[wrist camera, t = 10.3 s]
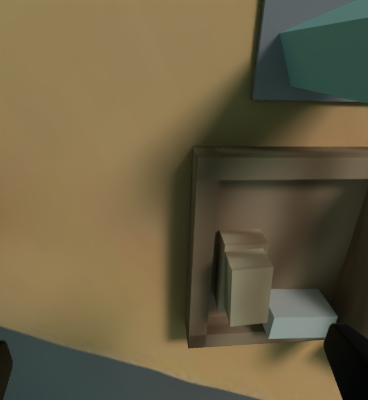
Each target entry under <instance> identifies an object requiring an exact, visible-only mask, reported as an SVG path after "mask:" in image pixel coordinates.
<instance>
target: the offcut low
mask: <svg viewBox="0 0 368 400" xmlns="http://www.w3.org/2000/svg"><path fill="white" fill-rule="evenodd" d="M268 246H269V244H268V242H267V240H266V239H265V237H264V235H263V234H262V232H261V231H260V229H233V230H219V238H218V249H217V259H216V270H215V281H214V292H213V294H214V298H215V302H216V306H217V310H218V312H226V311H225V307H224V277H225V252H227V251H239V250H250V249H261V248H263V249H264V251H265V253H266V255H267V252H268Z"/></svg>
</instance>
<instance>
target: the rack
mask: <svg viewBox="0 0 368 400" xmlns="http://www.w3.org/2000/svg"><path fill="white" fill-rule="evenodd" d="M233 229H260V231H261V232H262V234H263V235H264V237H265V239H266V240H267V242H268V244H269V246H268V252H267V256H268V258H269V260H270V262H271V263H272V265H273V267H274V268H273V276H272V285H271V289H319V290H320V292H321V293H322V295H323V296H324V297H325V299H326V300H327V302H328V303H329V305H330V306H331V307H332V309H333V310H334V312H335V313H336V314H337V316H338V318H337V321H336V323H346V324H348V325H349V326H351V327H352V328H353V329H355V330H356V331H358V332H359V333H360V334H362V335H363V336H364V337H366V338H367V339H368V147H193V156H192V180H191V203H190V227H189V251H188V275H187V299H186V322H185V325H186V333H187V342H188V348H200V347H216V346H232V345H248V344H264V343H280V342H295V341H311V340H325V338H283V339H268V337H267V334H266V332H265V329H264V327H263V324H262V323H261V324H251V325H242V326H233V327H230V325H229V321H228V318H227V314H226V312H218V310H217V306H216V302H215V298H214V294H213V292H214V281H215V270H216V259H217V249H218V238H219V230H233Z"/></svg>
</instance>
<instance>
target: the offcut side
mask: <svg viewBox="0 0 368 400" xmlns="http://www.w3.org/2000/svg"><path fill="white" fill-rule="evenodd" d="M337 318H338V316H337V314H336V313H335V312H334V310H333V309H332V307H331V306H330V305H329V303H328V302H327V300H326V299H325V297H324V296H323V295H322V293H321V292H320V290H319V289H271V294H270V303H269V312H268V321H267V323H262V324H263V327H264V329H265V332H266V334H267V337H268V339H283V338H325V337H326V334H327V331H328V328H329V326H330V325H331V324H332V323H336V321H337Z"/></svg>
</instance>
